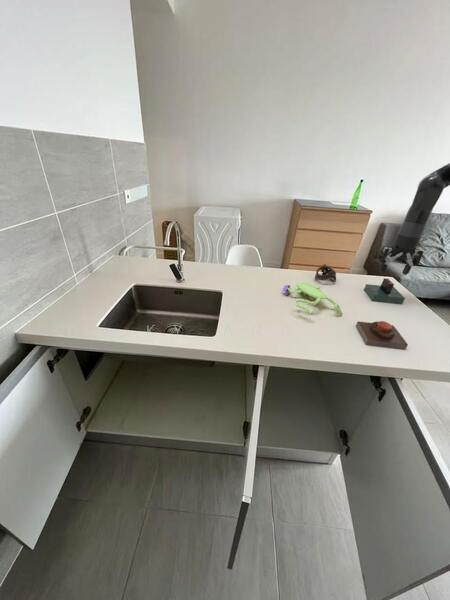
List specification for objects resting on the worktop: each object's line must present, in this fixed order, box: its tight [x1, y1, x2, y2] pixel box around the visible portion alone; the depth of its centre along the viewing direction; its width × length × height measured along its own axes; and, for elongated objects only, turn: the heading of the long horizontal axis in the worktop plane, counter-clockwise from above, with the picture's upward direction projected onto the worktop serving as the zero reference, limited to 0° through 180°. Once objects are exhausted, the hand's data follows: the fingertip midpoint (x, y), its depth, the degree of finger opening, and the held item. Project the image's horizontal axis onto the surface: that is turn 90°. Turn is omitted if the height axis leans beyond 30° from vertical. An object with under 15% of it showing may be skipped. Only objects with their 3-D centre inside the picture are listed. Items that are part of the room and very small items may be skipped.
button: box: [376, 320, 392, 332], centre depth 79 cm, size 4×4×2 cm
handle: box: [380, 277, 395, 294], centre depth 103 cm, size 6×2×5 cm, turn 172°
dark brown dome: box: [314, 264, 337, 283], centre depth 117 cm, size 12×10×8 cm
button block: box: [355, 320, 408, 351], centre depth 80 cm, size 12×10×4 cm
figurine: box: [282, 281, 343, 316], centre depth 97 cm, size 18×27×6 cm
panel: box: [363, 283, 406, 305], centre depth 105 cm, size 12×10×3 cm
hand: (393, 273), depth 100 cm, fingers open, 8 cm apart
